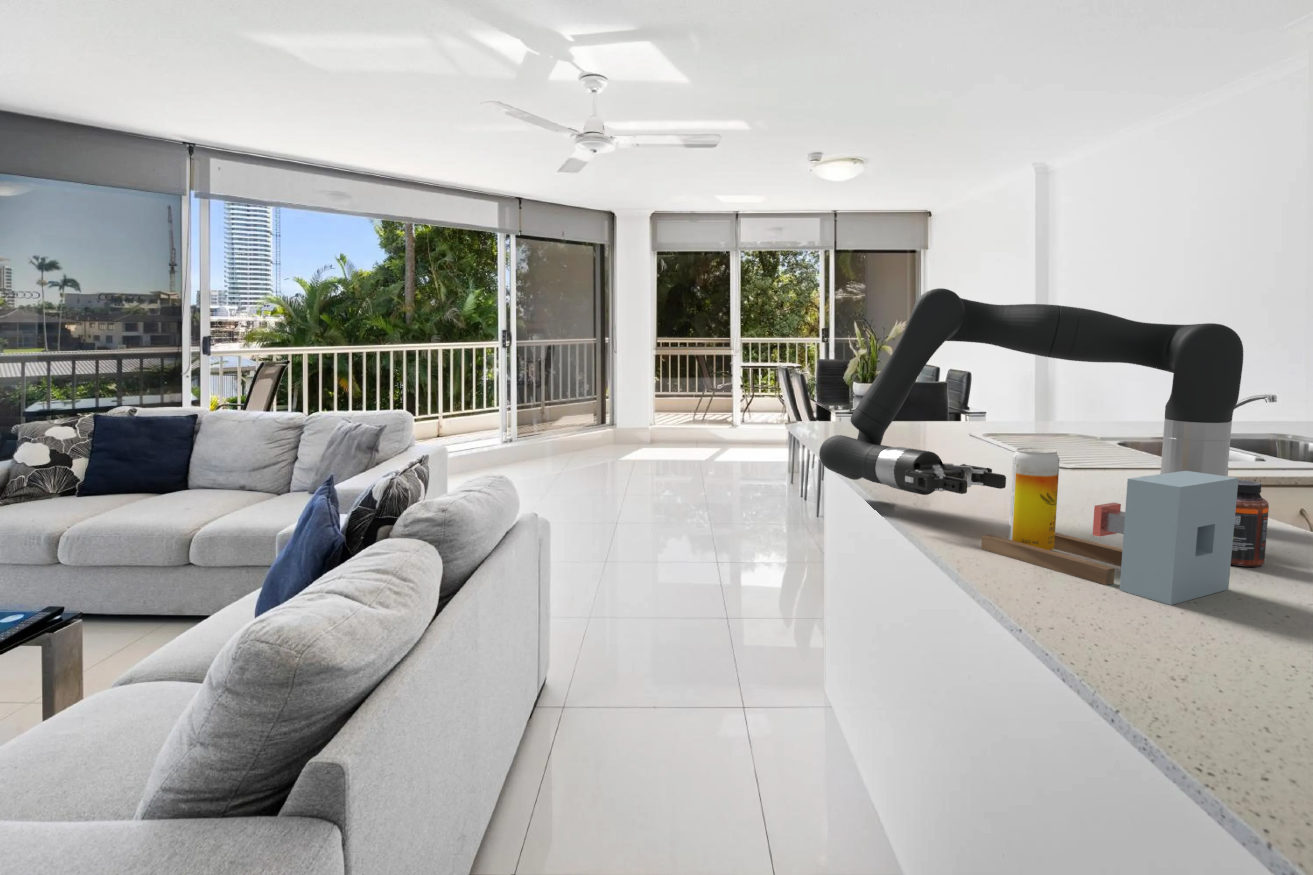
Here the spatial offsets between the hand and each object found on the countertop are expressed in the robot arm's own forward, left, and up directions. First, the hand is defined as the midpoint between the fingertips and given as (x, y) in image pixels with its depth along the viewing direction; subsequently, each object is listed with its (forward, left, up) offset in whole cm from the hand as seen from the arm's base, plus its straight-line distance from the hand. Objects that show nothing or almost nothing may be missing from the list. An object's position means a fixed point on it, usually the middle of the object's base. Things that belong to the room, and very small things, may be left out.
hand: (985, 484), depth 117 cm
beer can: (0, +9, -9) cm, 12 cm away
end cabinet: (0, +29, -8) cm, 30 cm away
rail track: (0, +14, -8) cm, 16 cm away
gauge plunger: (0, +24, -3) cm, 24 cm away
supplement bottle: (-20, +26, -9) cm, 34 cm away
